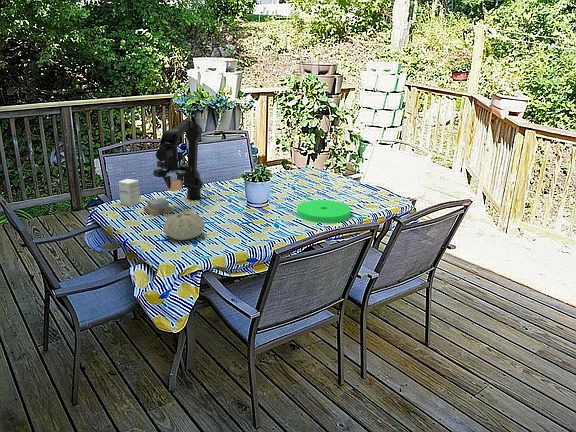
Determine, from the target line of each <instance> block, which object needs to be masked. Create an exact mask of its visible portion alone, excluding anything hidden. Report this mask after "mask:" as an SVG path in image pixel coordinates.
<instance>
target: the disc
mask: <svg viewBox="0 0 576 432" xmlns="http://www.w3.org/2000/svg"><path fill="white" fill-rule="evenodd" d="M351 211H352V208H351V207H350V206H349V205H348V204H346V203H343V202H342V201H341V202H340V201H337V200H336V201H335V200H330V199H313V200H306V201H303V202H301V203H299V204H298V205H297V206H296V214H297V216H298V217H299V218H300V219H302V220H305V221H308V222H313V223H317V224H318V223H319V224H320V223H321V224H333V223H340V222H341V223H342V222H344V221H346V220H348V219H349V218H350V217H351Z"/></svg>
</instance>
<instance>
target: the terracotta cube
mask: <svg viewBox="0 0 576 432" xmlns="http://www.w3.org/2000/svg"><path fill="white" fill-rule="evenodd" d="M181 183H182V181H181V180H179V179H177V177H175V178H171V181H170V189H168V187H167V186H166V190H167V191H170V192H177V191H181V190H182V186H181V185H182V184H181Z"/></svg>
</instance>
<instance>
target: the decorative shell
mask: <svg viewBox="0 0 576 432" xmlns="http://www.w3.org/2000/svg"><path fill="white" fill-rule="evenodd" d="M204 229H205V221H204V219H203V218H202V217H201V216H200V215H198V214H196V213H194V212H181V213H175V214H172V215H170V216H169V217H167V218H166V220H165V222H164V224H163V232H164V234H165V235H167V236H168V237H169V238H171V239H173V240H177V241H183V240H184V241H185V240H191V239H194V238H197V237H198V236H200V235H201V234H202V232H203V230H204Z"/></svg>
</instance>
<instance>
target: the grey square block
mask: <svg viewBox="0 0 576 432" xmlns="http://www.w3.org/2000/svg"><path fill="white" fill-rule="evenodd" d="M146 201H147V202H146V203H147V205H146V206H148V207H149V208H151V209H153V210H159V209H164V208H169V206H170V201H168V200H166V199H165V198H164V197H160V198H154V199H148V200H146Z"/></svg>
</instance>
